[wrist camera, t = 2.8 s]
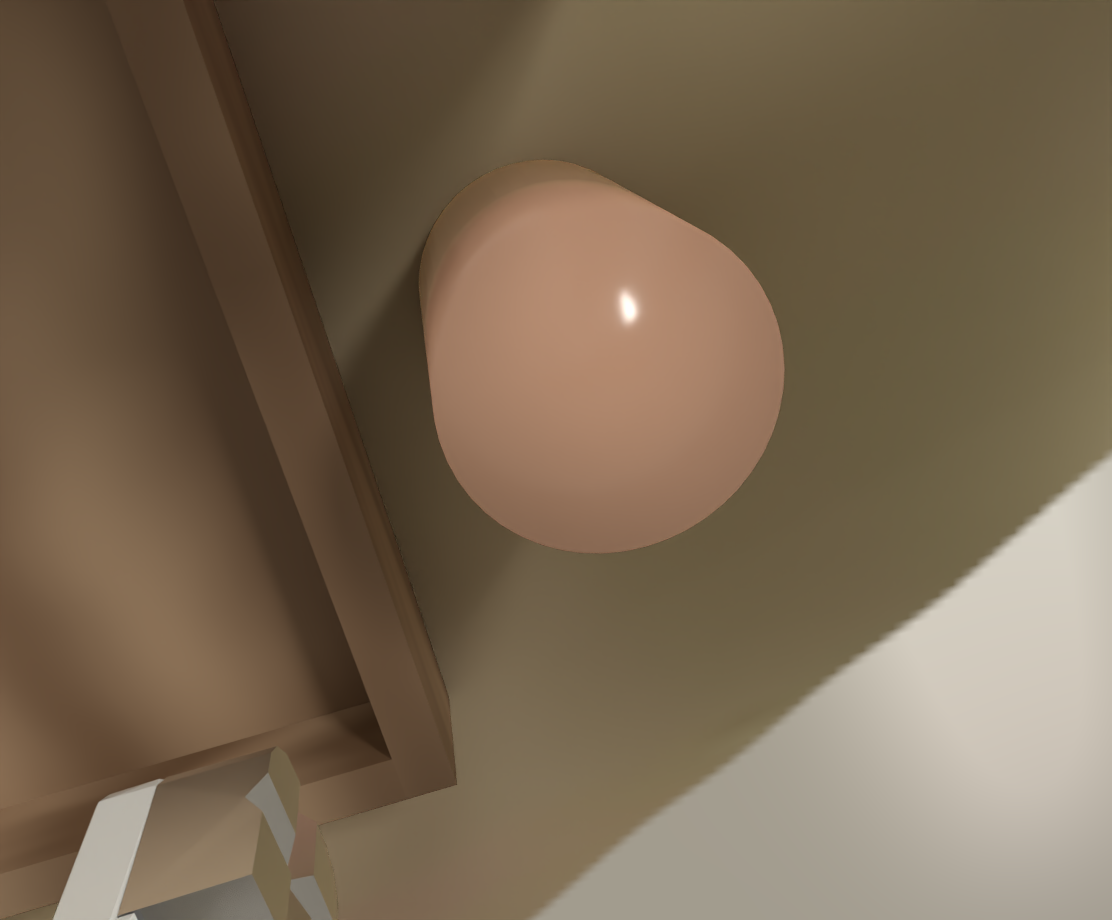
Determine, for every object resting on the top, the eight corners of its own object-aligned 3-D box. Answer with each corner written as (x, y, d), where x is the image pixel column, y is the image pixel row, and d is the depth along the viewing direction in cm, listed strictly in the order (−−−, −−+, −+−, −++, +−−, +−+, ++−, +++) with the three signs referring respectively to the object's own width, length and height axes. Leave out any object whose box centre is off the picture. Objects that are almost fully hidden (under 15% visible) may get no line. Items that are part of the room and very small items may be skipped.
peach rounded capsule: (634, 131, 22) (755, 166, 15) (680, 367, 24) (805, 500, 17) (387, 196, 22) (385, 266, 14) (456, 429, 24) (485, 592, 17)
